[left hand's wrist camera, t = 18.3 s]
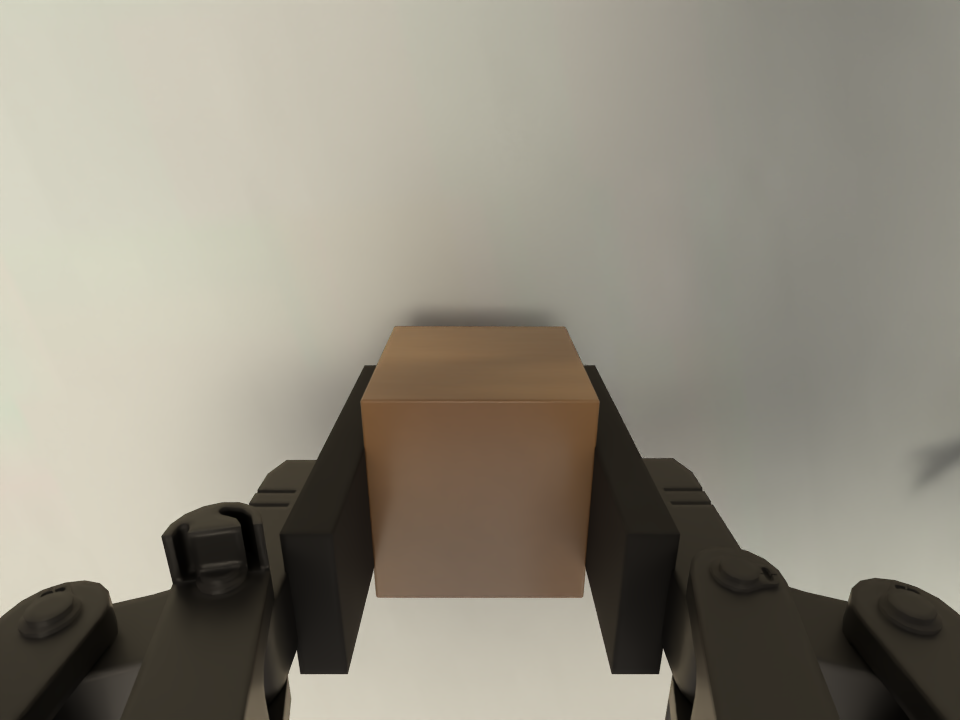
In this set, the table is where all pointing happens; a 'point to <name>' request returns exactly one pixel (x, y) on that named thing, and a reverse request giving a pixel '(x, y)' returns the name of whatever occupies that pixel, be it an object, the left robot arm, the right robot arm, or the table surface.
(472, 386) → the block
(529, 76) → the table surface
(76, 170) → the table surface
